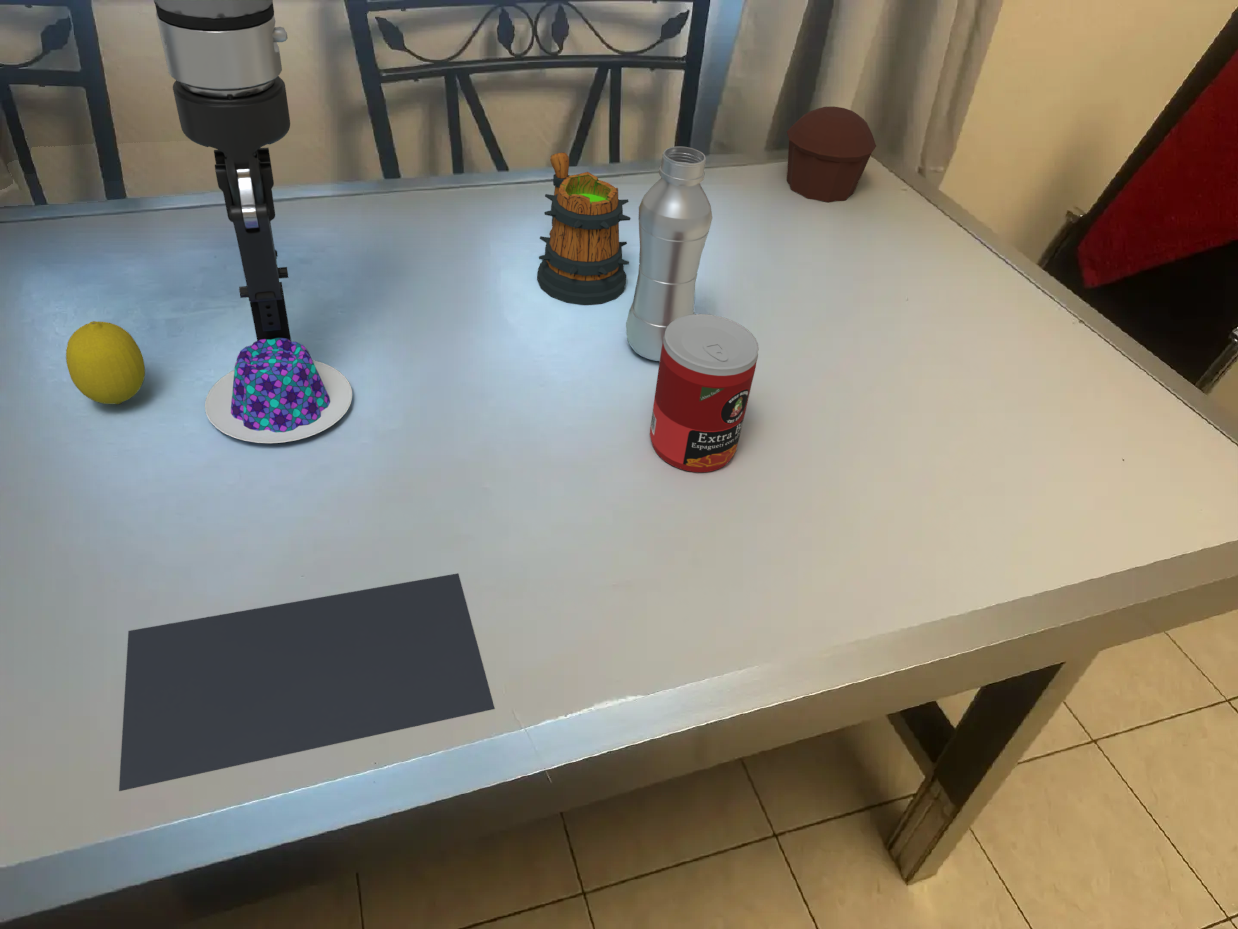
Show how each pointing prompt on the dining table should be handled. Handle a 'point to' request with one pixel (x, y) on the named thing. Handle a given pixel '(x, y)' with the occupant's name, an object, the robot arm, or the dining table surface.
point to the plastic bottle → (669, 249)
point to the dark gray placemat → (297, 678)
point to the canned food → (702, 391)
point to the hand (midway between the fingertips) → (276, 352)
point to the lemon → (105, 362)
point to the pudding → (277, 394)
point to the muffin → (828, 153)
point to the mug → (582, 239)
